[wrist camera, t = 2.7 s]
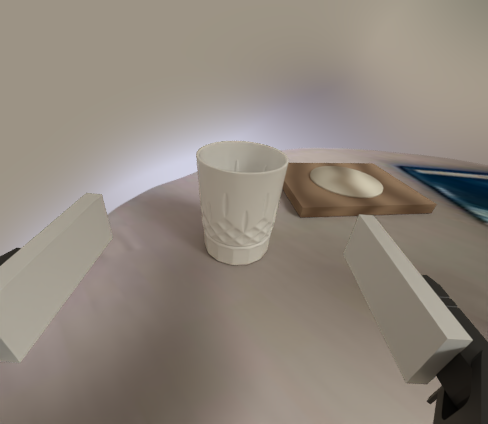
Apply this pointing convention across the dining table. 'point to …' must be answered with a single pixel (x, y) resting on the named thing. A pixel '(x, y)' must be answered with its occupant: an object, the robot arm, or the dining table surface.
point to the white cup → (239, 198)
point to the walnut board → (349, 191)
